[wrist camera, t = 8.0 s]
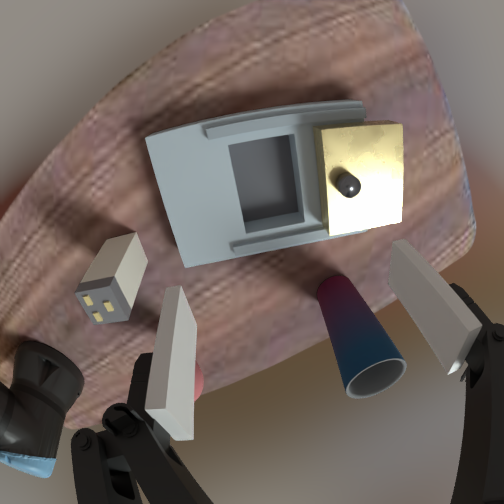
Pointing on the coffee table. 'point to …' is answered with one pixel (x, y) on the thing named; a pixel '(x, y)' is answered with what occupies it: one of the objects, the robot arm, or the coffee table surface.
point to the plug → (113, 280)
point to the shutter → (359, 174)
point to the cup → (358, 340)
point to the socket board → (245, 179)
